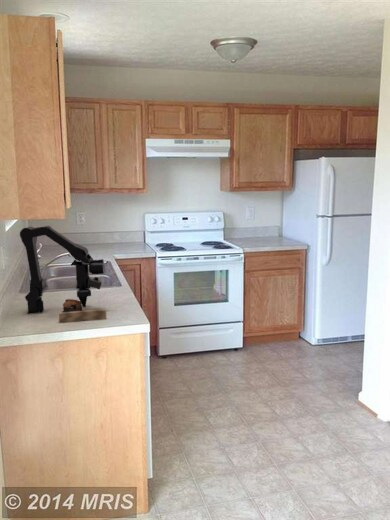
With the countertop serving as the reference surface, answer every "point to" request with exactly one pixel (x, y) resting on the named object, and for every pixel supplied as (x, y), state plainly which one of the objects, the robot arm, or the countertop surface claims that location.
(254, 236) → the countertop surface
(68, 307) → the pottery mug
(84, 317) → the walnut board
